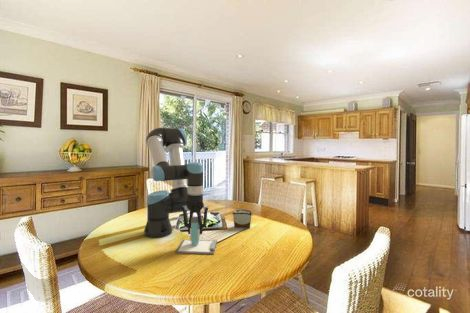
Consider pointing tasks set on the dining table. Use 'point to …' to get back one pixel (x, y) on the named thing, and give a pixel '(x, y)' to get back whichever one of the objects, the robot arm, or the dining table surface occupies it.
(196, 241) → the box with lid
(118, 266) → the dining table surface
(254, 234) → the dining table surface
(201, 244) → the clipboard
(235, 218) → the food container
